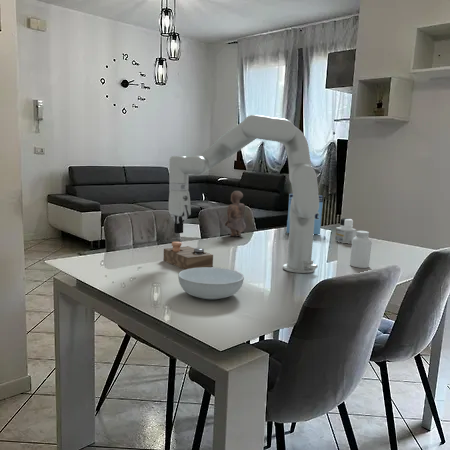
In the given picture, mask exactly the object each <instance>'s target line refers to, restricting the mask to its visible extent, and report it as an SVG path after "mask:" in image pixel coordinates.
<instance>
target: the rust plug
mask: <svg viewBox="0 0 450 450" xmlns="http://www.w3.org/2000/svg"><path fill="white" fill-rule="evenodd" d="M171 246H172V248H173V252H179V251H180V247H183V243H182V242H181V241H171Z"/></svg>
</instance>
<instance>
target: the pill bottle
mask: <svg viewBox="0 0 450 450" xmlns="http://www.w3.org/2000/svg"><path fill="white" fill-rule="evenodd" d="M369 235H370V232H369V231H366V230H356V237H354V238H353V240H352V243H351V250H350V258H349V259H350V260H349V265H350V267H351V266H352V267H353V268H358V269H367V268H369V267H370V263H371V262H370V261H371V253H372V252H371V250H372V243H373V242H372V240H371V238H369V237H370V236H369Z"/></svg>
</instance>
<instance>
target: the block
mask: <svg viewBox="0 0 450 450" xmlns="http://www.w3.org/2000/svg"><path fill="white" fill-rule="evenodd" d="M194 248H195V247H192V246H189V245H187V246H180V251H179V252H173V247H167V248H163V258H162V259H163V262H166V263H168V264H169V265H170V264H171V265H174V266H175V267H178V268H180V269H182V270H186V269H191V268H200V267H213V266H214V254H212V253H209V252H206V251H204V253H203V254H199V255H197V254H195V252H194Z"/></svg>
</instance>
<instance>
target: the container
mask: <svg viewBox="0 0 450 450" xmlns="http://www.w3.org/2000/svg"><path fill="white" fill-rule="evenodd" d="M353 226H354V220H353V219H352V218H346V217H344V218H341V219H340V225H339V227H337V226H336V227H335V229H336V230H335V237H334V239H335V240H334V241H335V242H337V241H339V242H338V243H340V242H342V243H341V244H343V243H348V244H352V240H353V238H354V237H357V236H356V231H357V229H356V228H353Z"/></svg>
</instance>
